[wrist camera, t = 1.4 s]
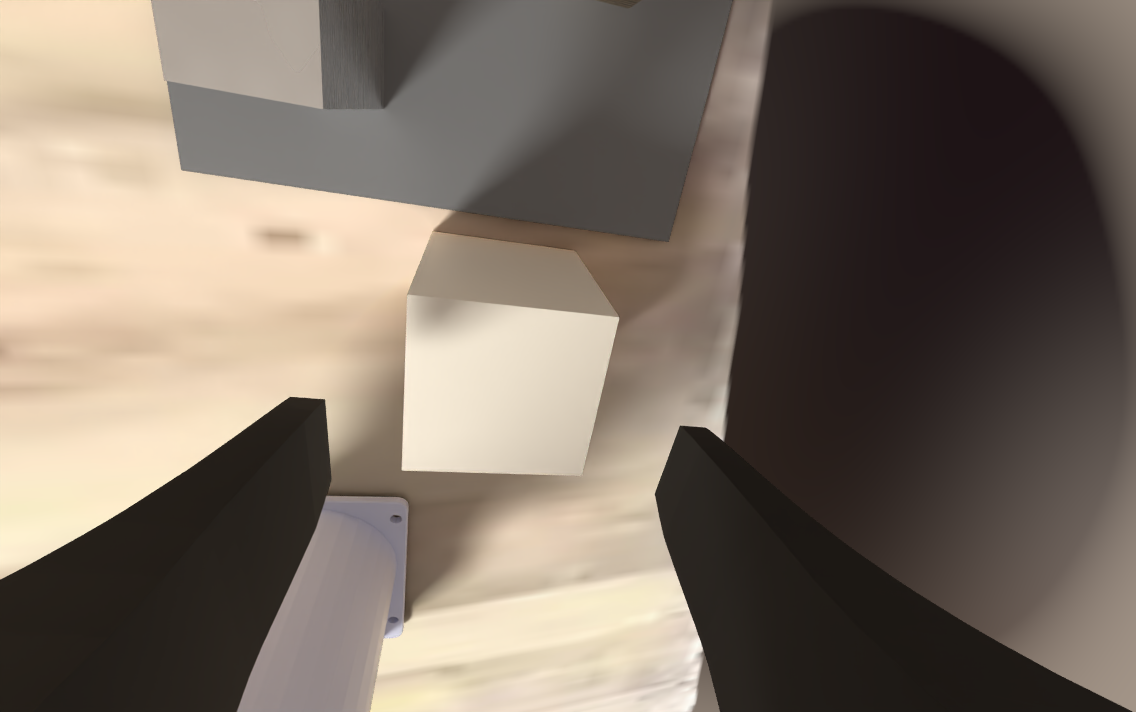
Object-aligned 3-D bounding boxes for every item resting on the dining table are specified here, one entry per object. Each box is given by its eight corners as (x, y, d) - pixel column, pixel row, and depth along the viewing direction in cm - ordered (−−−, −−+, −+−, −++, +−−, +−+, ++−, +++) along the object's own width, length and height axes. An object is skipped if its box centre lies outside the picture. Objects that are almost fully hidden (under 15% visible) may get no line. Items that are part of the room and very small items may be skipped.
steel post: (383, 109, 15) (322, 109, 9) (290, 91, 14) (163, 80, 8) (384, 7, 14) (316, -64, 8) (283, -16, 13) (133, -111, 7)
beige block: (553, 371, 20) (581, 476, 14) (425, 361, 19) (401, 470, 13) (575, 250, 18) (619, 317, 12) (432, 231, 17) (407, 294, 11)
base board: (664, 239, 18) (668, 241, 18) (188, 168, 15) (181, 170, 15) (752, -97, 14) (759, -101, 14) (114, -306, 11) (102, -319, 10)
